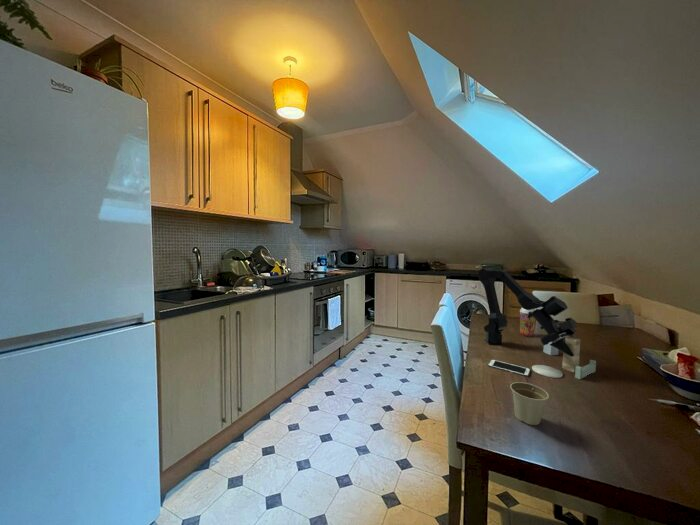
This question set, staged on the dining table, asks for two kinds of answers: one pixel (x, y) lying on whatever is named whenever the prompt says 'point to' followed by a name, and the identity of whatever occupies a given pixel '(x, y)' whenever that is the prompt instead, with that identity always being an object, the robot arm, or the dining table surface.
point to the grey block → (550, 349)
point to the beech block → (574, 346)
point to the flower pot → (528, 402)
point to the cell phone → (509, 368)
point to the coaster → (547, 371)
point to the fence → (585, 370)
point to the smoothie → (527, 323)
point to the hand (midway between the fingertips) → (575, 355)
